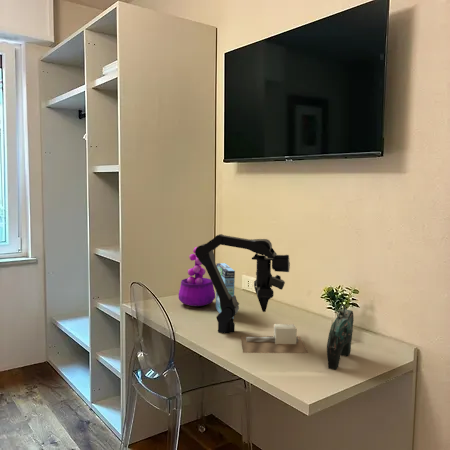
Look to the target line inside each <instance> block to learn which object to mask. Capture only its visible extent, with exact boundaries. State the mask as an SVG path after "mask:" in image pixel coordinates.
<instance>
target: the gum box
mask: <svg viewBox="0 0 450 450" xmlns="http://www.w3.org/2000/svg"><path fill="white" fill-rule="evenodd" d="M216 266H217V268H218V270H219V272H220V275H221V277H222V279H223V281H224V283H225V286H226V288H227V290H228V292H229V294H230V295H231V296H232V297H233V296H235V280H236V279H235V278H236V270H234V269H233V268H232V267H231V266H230V265H228V264H227V263H224V262H221V263H220V262H219V263H216ZM215 309H216V311H217V312H218V314H220V312H221V307H220V299H219V296H218V294H217V292H216V291H215ZM232 318H233V320H234V319H235V316H234V317H232Z"/></svg>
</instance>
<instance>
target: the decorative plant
mask: <svg viewBox="0 0 450 450" xmlns="http://www.w3.org/2000/svg"><path fill="white" fill-rule="evenodd" d="M197 247H198V246H195V247H194V248H193V249H192V250H193V253H191V254H189V257H188V258H189V260H190V261H191V262H192V261H194V266H193V267H191V268H188V270H187V274H188V275H189V277H187V278H183V279H181V282H180V286H179V289H178V299H179V301H180V302H181V303H182V304H184V305H186V306H190V307H202V306H206V305H209V304H212V303H213V301H215V300H216V290H215V287H214V285H213V283H212V281H211V279H210V278H207V277H204V275H205V274H206V268H204V267H202V266H203V264H202V263H201V262H200V261H199V259H198V258H197V256H196V254H195V251H196V248H197Z"/></svg>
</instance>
